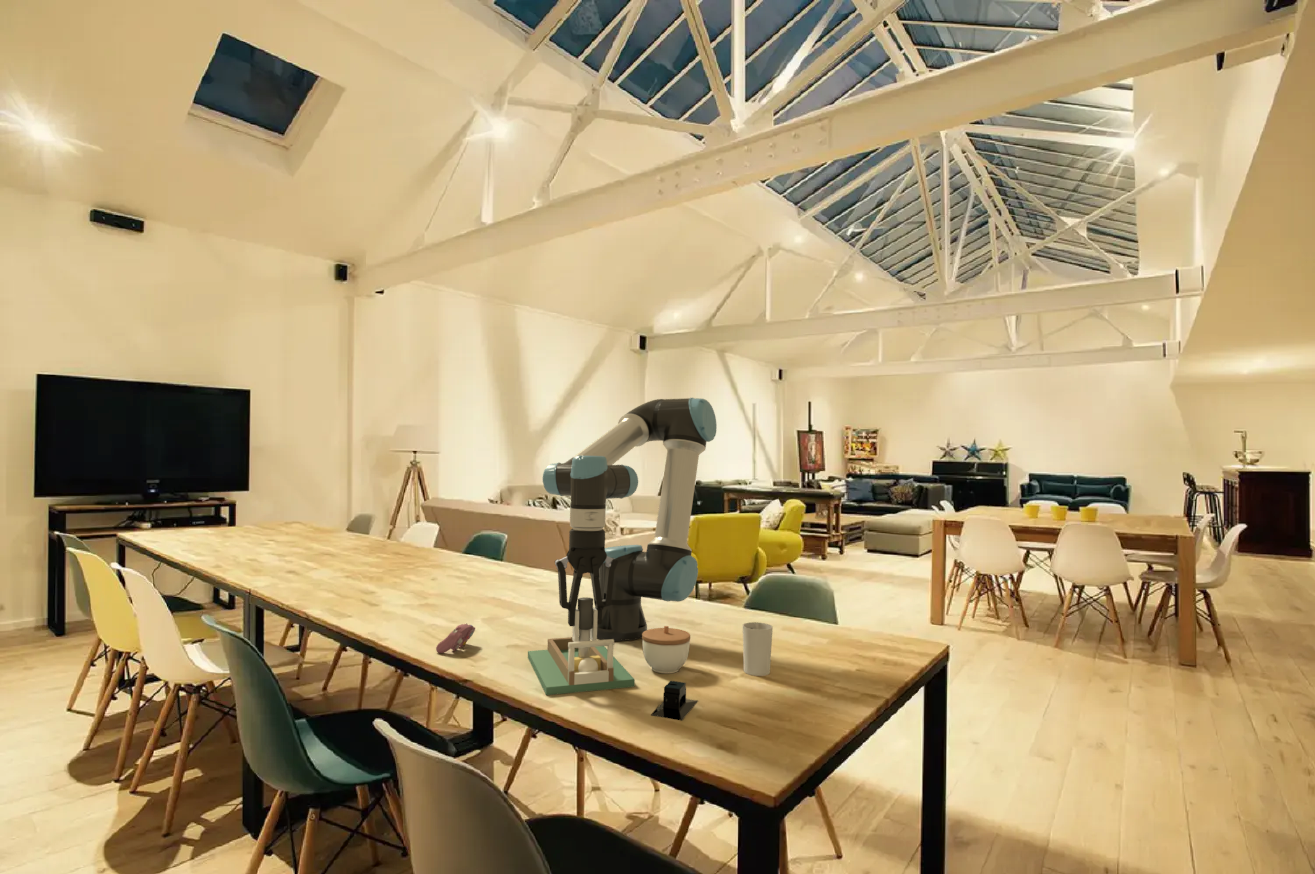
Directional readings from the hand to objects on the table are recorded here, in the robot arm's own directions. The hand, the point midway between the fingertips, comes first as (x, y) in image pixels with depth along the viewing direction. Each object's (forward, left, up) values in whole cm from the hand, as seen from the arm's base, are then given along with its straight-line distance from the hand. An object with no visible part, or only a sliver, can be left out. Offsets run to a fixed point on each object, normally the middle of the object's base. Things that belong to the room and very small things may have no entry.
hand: (584, 640), depth 137 cm
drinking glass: (-38, +5, -8) cm, 39 cm away
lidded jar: (-19, -2, -8) cm, 21 cm away
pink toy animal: (+24, -30, -8) cm, 39 cm away
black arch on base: (-13, +20, -9) cm, 25 cm away
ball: (0, +4, -4) cm, 6 cm away
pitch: (0, -5, -8) cm, 10 cm away
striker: (0, +1, -6) cm, 6 cm away
